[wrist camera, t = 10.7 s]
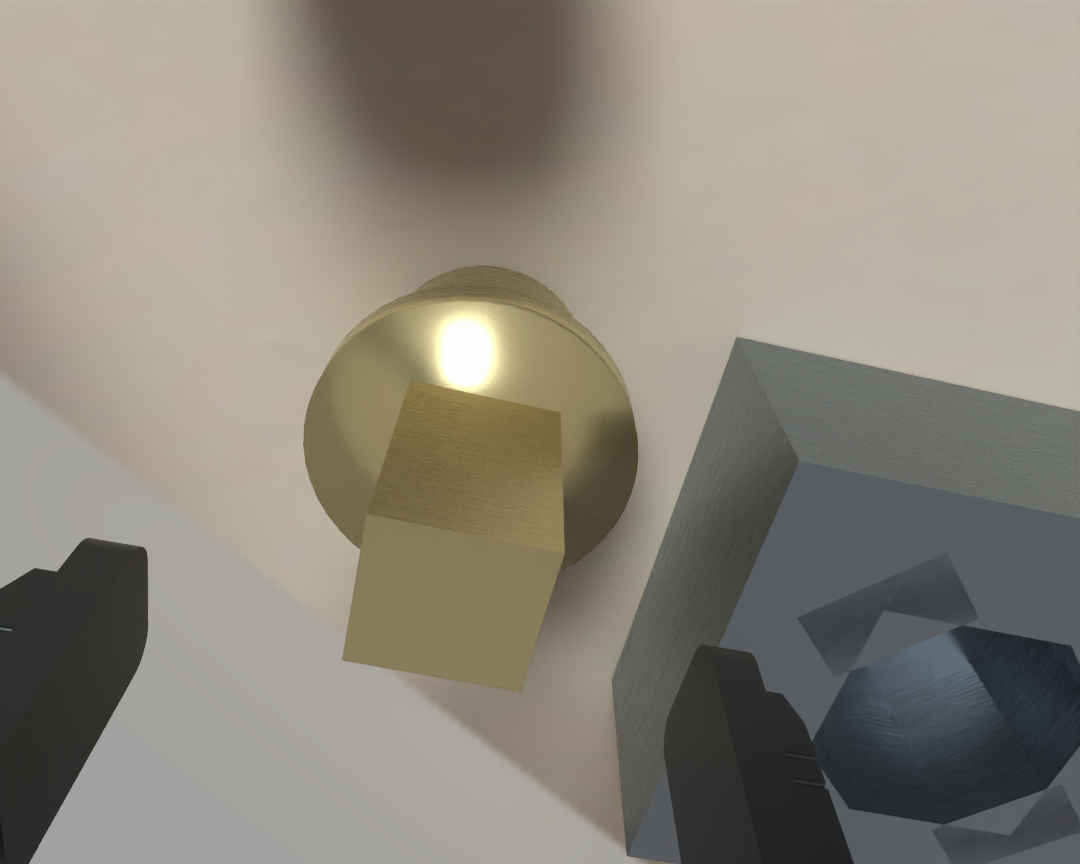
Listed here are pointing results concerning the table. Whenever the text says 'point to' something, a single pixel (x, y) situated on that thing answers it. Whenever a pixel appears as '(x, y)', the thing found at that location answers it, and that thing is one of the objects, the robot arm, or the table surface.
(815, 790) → the robot arm
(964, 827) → the housing
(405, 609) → the end cover
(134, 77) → the table surface
